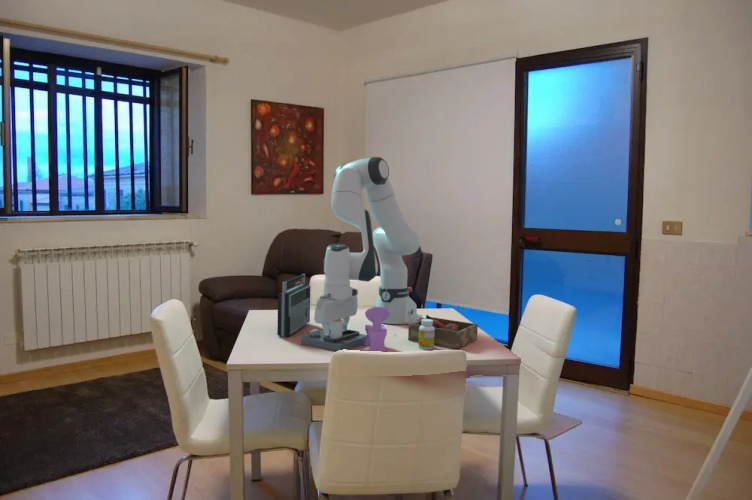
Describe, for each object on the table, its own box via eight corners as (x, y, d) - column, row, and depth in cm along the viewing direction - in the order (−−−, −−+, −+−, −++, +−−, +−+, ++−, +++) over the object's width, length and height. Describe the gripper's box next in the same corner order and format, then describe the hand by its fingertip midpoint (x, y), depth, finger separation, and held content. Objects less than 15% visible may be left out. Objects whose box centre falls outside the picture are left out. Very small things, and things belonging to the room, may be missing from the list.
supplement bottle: (417, 345, 212) (418, 318, 211) (432, 345, 212) (433, 318, 211) (419, 349, 206) (420, 321, 205) (435, 349, 207) (436, 321, 206)
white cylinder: (334, 338, 208) (334, 318, 208) (342, 339, 207) (342, 319, 206) (329, 339, 206) (330, 319, 205) (337, 341, 204) (337, 321, 204)
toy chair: (385, 345, 211) (386, 302, 210) (389, 351, 203) (391, 307, 201) (361, 345, 210) (362, 302, 208) (365, 352, 201) (366, 308, 200)
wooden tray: (428, 332, 232) (429, 316, 232) (477, 340, 222) (477, 324, 221) (408, 340, 219) (408, 323, 218) (458, 349, 208) (459, 332, 208)
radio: (291, 338, 217) (292, 283, 215) (277, 336, 218) (278, 282, 216) (311, 323, 241) (312, 274, 239) (299, 322, 242) (300, 273, 240)
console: (330, 334, 223) (330, 314, 223) (368, 342, 214) (369, 321, 213) (301, 344, 209) (301, 322, 208) (340, 352, 200) (341, 330, 199)
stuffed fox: (418, 317, 223) (444, 312, 229) (429, 346, 219) (455, 340, 225) (428, 309, 217) (454, 304, 223) (439, 338, 213) (466, 333, 219)
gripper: (325, 297, 194) (324, 339, 196) (361, 289, 212) (360, 328, 213) (310, 295, 198) (309, 336, 199) (346, 287, 215) (345, 325, 216)
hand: (335, 332), depth 206 cm, fingers open, 8 cm apart
